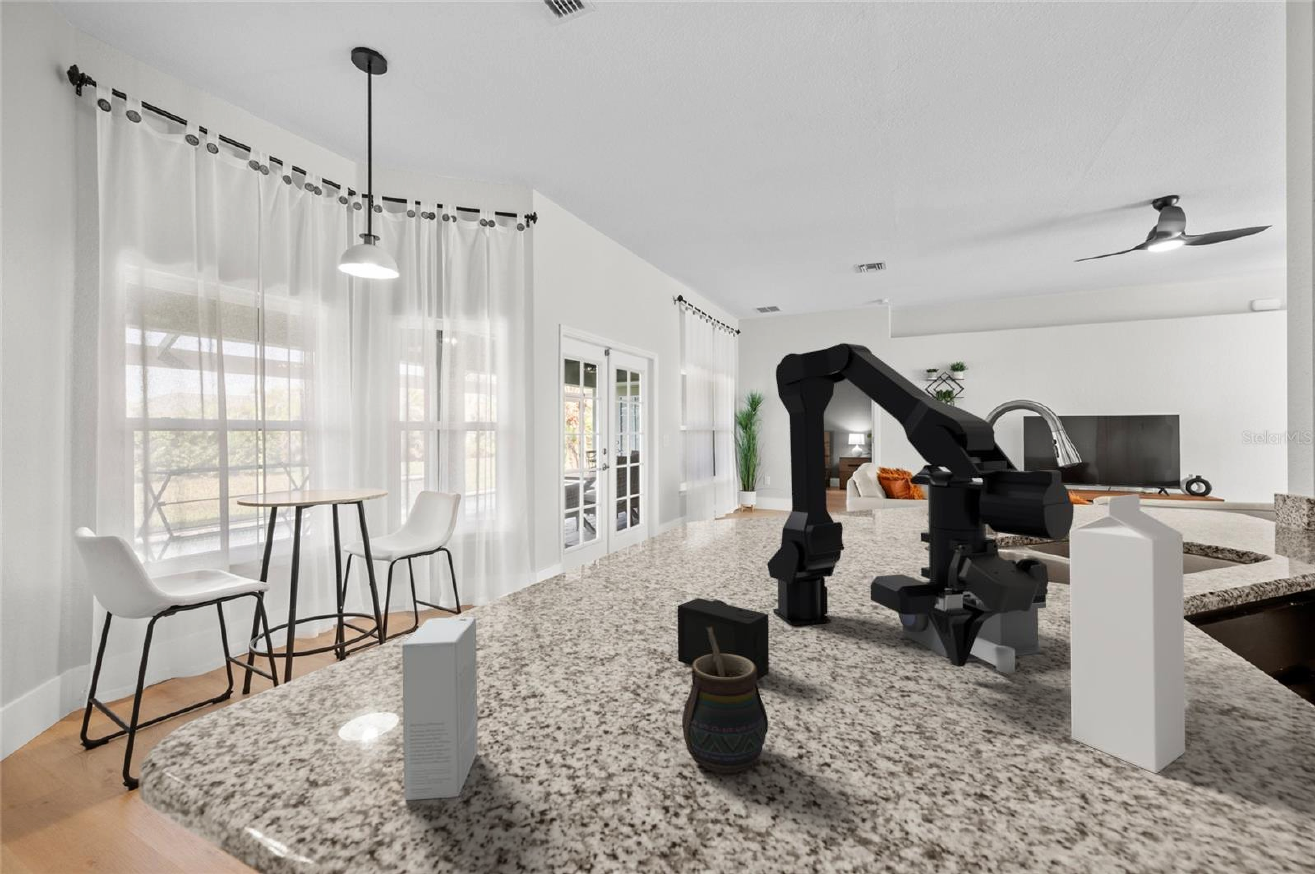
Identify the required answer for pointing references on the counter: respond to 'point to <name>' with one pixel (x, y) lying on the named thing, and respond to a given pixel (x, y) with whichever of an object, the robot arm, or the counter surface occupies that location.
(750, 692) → the mate gourd
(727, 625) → the digital camera
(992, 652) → the side hatch
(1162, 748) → the milk
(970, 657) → the camera housing
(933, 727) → the counter surface
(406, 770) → the skincare box
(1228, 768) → the counter surface
